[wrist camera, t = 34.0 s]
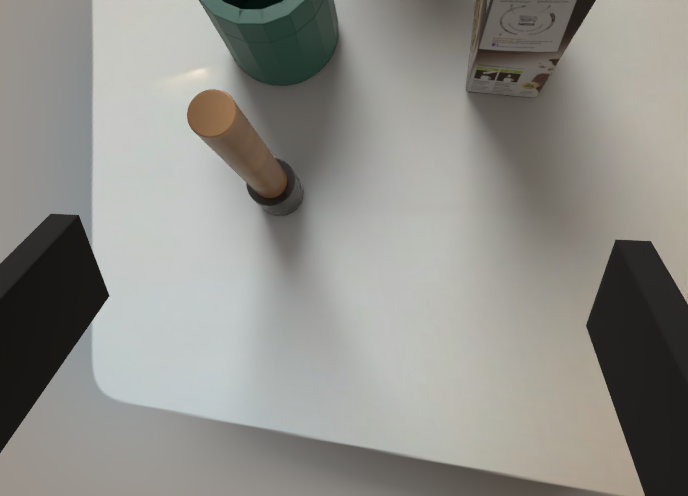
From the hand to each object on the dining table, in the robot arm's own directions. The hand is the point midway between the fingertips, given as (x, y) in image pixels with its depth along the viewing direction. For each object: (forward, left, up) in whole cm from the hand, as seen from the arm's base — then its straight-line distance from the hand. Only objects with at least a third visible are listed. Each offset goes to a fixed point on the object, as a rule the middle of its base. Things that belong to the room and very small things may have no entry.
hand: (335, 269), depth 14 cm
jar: (+10, -25, -32) cm, 41 cm away
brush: (+9, -10, -32) cm, 34 cm away
